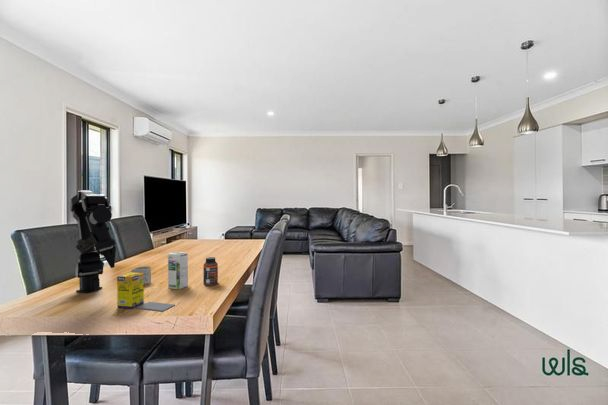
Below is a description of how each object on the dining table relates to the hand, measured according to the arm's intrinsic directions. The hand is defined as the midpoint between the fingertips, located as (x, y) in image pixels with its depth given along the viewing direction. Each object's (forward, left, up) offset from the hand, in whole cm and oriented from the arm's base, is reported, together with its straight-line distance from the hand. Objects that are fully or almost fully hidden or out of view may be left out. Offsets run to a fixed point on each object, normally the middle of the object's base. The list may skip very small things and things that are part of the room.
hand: (112, 267), depth 117 cm
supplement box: (+11, -4, -12) cm, 17 cm away
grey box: (-7, +22, -12) cm, 26 cm away
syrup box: (+14, +19, -12) cm, 26 cm away
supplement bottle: (+25, +26, -12) cm, 38 cm away
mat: (+21, -4, -12) cm, 24 cm away
